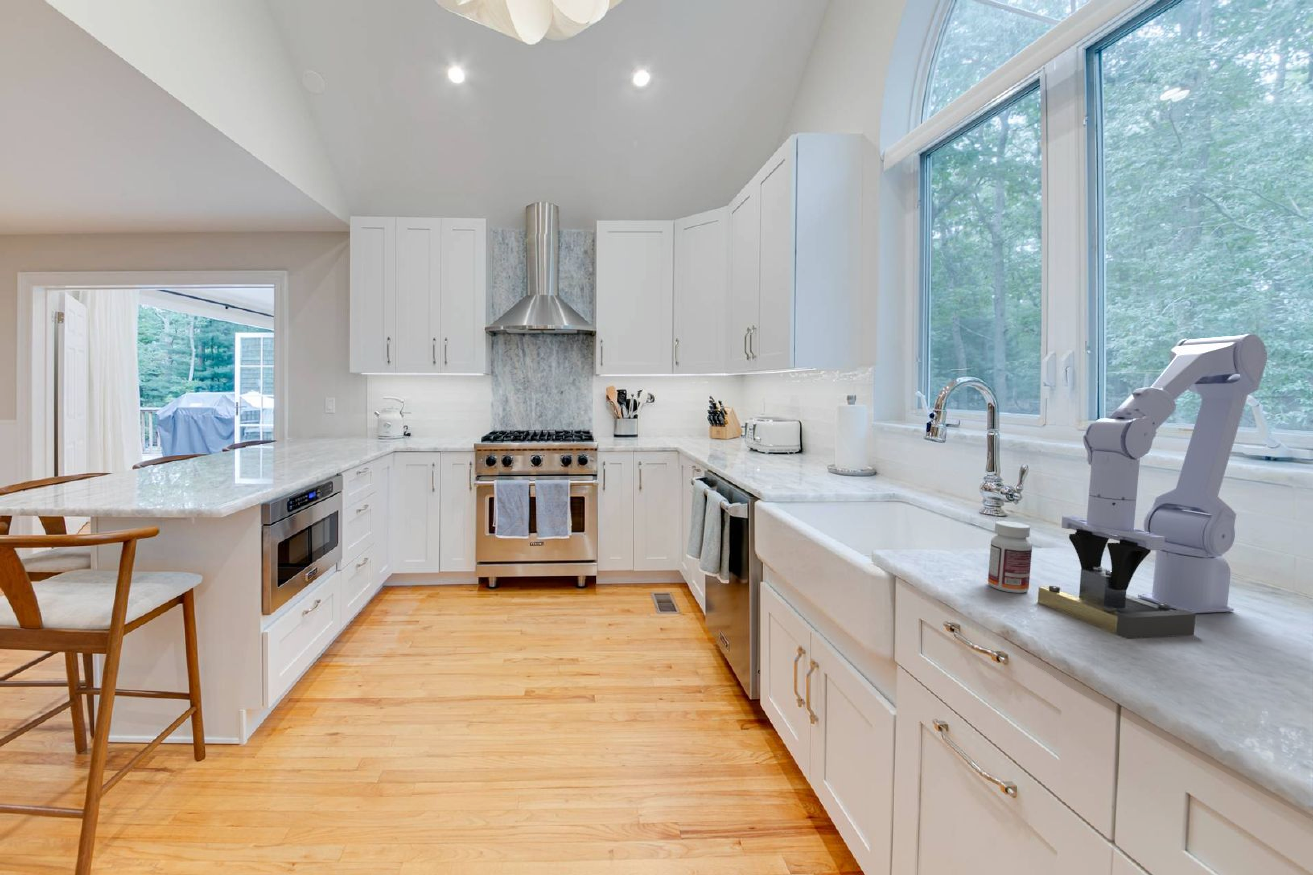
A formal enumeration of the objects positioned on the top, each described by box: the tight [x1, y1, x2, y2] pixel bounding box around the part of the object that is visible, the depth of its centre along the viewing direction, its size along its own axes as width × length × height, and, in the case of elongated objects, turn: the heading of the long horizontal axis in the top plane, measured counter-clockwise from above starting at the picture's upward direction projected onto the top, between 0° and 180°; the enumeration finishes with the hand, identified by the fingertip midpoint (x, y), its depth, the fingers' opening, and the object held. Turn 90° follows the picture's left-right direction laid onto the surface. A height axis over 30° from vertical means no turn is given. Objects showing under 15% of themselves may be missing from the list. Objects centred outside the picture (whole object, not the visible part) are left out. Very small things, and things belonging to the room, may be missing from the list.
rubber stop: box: [1115, 609, 1197, 640], centre depth 81 cm, size 12×2×3 cm, turn 102°
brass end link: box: [1037, 585, 1119, 635], centre depth 87 cm, size 2×13×3 cm, turn 12°
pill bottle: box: [987, 520, 1033, 594], centre depth 100 cm, size 6×6×11 cm
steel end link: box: [1115, 593, 1175, 613], centre depth 89 cm, size 2×13×3 cm, turn 12°
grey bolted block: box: [1078, 566, 1127, 609], centre depth 88 cm, size 4×4×6 cm
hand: (1104, 584), depth 89 cm, fingers closed on grey bolted block, 4 cm apart
